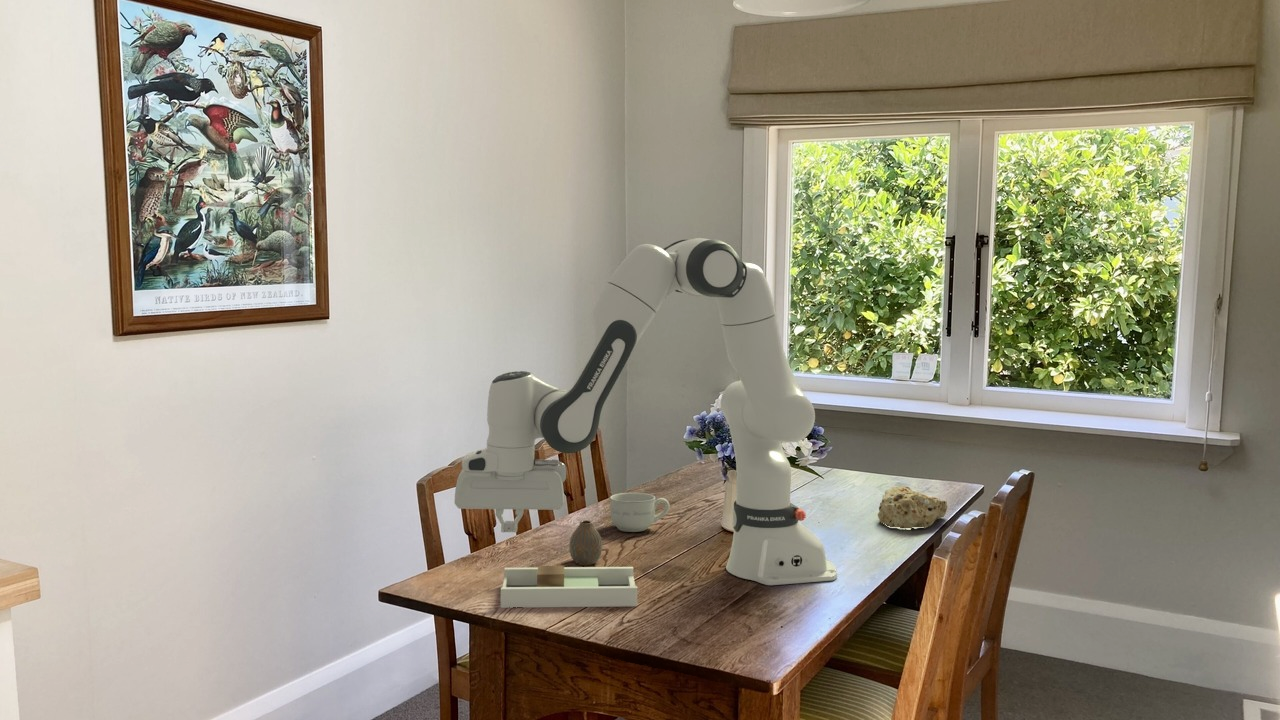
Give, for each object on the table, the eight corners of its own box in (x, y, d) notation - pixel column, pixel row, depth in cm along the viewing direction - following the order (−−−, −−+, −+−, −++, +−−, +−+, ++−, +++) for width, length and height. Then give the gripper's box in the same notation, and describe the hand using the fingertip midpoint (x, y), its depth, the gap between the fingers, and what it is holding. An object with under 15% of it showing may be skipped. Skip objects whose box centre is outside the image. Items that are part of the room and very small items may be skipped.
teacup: (604, 533, 225) (604, 499, 224) (616, 521, 236) (616, 488, 235) (662, 538, 222) (663, 504, 221) (672, 525, 232) (673, 493, 232)
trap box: (632, 584, 191) (633, 566, 191) (637, 606, 180) (637, 587, 179) (504, 585, 189) (504, 567, 189) (500, 607, 178) (500, 589, 177)
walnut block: (564, 580, 187) (564, 565, 186) (564, 589, 182) (564, 574, 181) (537, 581, 186) (537, 565, 186) (537, 590, 181) (537, 574, 181)
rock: (890, 511, 253) (902, 475, 251) (944, 533, 245) (957, 496, 244) (864, 520, 235) (877, 482, 234) (922, 545, 228) (935, 505, 226)
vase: (572, 569, 200) (573, 527, 199) (566, 558, 206) (566, 518, 205) (605, 566, 202) (606, 525, 201) (598, 556, 208) (598, 516, 207)
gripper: (566, 456, 185) (564, 527, 186) (457, 454, 183) (456, 526, 184) (566, 463, 178) (564, 537, 180) (453, 461, 177) (452, 535, 178)
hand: (509, 531), depth 182 cm, fingers closed
